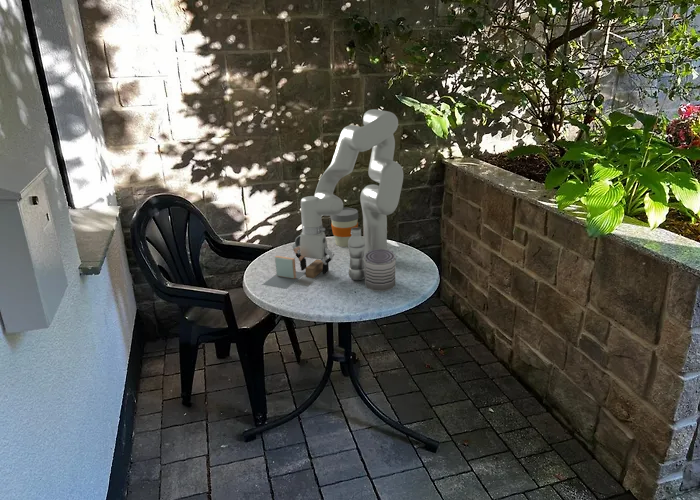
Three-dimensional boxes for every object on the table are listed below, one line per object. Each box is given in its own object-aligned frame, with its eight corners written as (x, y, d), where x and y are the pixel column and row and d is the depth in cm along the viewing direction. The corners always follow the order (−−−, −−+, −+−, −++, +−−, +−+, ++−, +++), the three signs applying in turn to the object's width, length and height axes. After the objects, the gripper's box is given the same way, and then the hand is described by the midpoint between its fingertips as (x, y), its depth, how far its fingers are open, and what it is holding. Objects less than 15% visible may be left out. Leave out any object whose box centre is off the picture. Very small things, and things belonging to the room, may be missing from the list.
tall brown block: (314, 269, 197) (313, 258, 195) (327, 271, 195) (326, 260, 193) (293, 285, 183) (293, 274, 182) (308, 288, 181) (307, 277, 179)
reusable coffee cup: (325, 244, 222) (324, 212, 217) (344, 236, 231) (342, 206, 225) (346, 250, 214) (345, 217, 209) (364, 242, 223) (364, 210, 218)
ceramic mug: (318, 246, 221) (316, 229, 218) (311, 252, 213) (310, 236, 211) (296, 244, 224) (294, 228, 221) (289, 251, 217) (287, 234, 214)
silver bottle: (357, 273, 191) (355, 225, 184) (369, 278, 187) (368, 228, 179) (345, 278, 187) (343, 229, 180) (357, 284, 183) (356, 233, 175)
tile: (296, 277, 188) (294, 258, 185) (294, 279, 187) (292, 259, 184) (278, 274, 192) (276, 255, 189) (276, 276, 190) (274, 257, 187)
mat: (306, 274, 192) (305, 272, 192) (286, 290, 180) (286, 288, 180) (283, 270, 197) (283, 269, 196) (262, 285, 184) (262, 284, 184)
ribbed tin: (400, 281, 184) (400, 251, 179) (388, 294, 174) (388, 262, 170) (372, 276, 189) (372, 247, 184) (359, 288, 179) (358, 258, 175)
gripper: (337, 228, 185) (338, 270, 191) (297, 223, 192) (299, 264, 198) (328, 235, 178) (330, 278, 185) (287, 229, 185) (290, 271, 191)
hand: (314, 271), depth 191 cm, fingers open, 9 cm apart
